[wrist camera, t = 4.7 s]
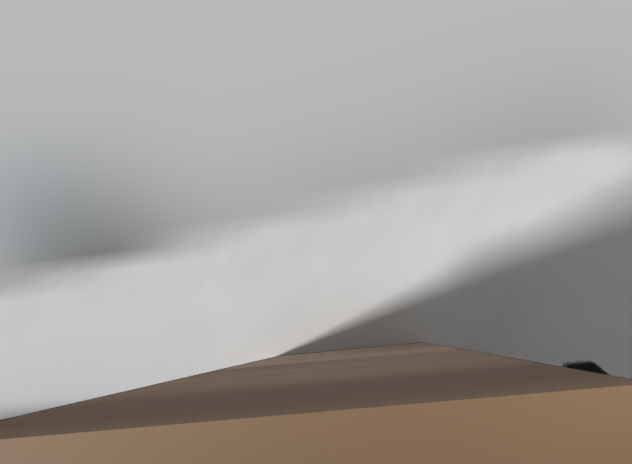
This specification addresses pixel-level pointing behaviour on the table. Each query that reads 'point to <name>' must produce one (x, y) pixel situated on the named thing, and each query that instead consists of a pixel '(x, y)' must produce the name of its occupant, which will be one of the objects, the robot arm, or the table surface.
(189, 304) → the table surface
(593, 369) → the robot arm
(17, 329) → the table surface
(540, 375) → the walnut peg
